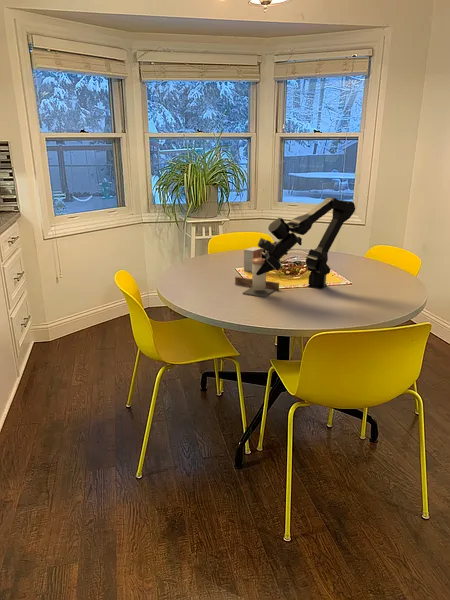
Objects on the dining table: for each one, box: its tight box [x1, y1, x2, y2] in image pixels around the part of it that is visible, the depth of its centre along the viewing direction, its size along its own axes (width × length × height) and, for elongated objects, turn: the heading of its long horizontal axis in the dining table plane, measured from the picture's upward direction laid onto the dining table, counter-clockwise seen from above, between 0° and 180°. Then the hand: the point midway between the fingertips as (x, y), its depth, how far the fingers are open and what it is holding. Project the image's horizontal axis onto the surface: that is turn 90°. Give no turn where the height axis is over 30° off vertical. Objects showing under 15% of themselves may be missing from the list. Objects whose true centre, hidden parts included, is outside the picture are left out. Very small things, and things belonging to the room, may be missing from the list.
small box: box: [243, 246, 263, 273], centre depth 221 cm, size 8×6×10 cm
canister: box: [251, 258, 267, 290], centre depth 186 cm, size 6×6×12 cm
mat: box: [242, 286, 275, 298], centre depth 189 cm, size 10×10×1 cm
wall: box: [234, 276, 280, 291], centre depth 196 cm, size 20×1×3 cm, turn 63°
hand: (255, 272), depth 186 cm, fingers closed on canister, 6 cm apart
